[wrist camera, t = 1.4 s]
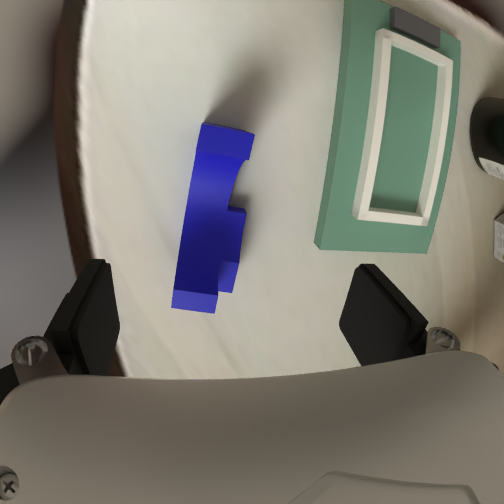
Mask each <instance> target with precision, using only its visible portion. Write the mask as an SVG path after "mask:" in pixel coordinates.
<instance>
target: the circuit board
mask: <svg viewBox="0 0 504 504" xmlns="http://www.w3.org/2000/svg"><path fill="white" fill-rule="evenodd" d="M459 80H460V41H459V40H457V39H456V38H454V37H452V36H451V35H449V34H447V33H446V32H444V31H442V30H440V28H438V27H436V26H434V25H432V24H430V23H428V22H426V21H424V20H423V19H421V18H419V17H416V16H414V15H412V14H410V13H408V12H406V11H404V10H402V9H399V8H397V7H393V6H391V5H389V4H386V3H384V2H381V1H379V0H344V16H343V31H342V44H341V55H340V66H339V76H338V85H337V94H336V103H335V111H334V119H333V127H332V135H331V142H330V149H329V156H328V163H327V169H326V176H325V182H324V188H323V194H322V200H321V206H320V212H319V218H318V223H317V229H316V234H315V239H314V243H315V244H316V246H317V247H318V248H319V249H320V250H342V251H370V252H398V253H424V254H427V251H428V247H429V244H430V241H431V237H432V234H433V230H434V227H435V223H436V219H437V216H438V212H439V208H440V204H441V200H442V195H443V191H444V187H445V182H446V177H447V172H448V167H449V162H450V156H451V150H452V144H453V138H454V131H455V123H456V115H457V105H458V94H459Z"/></svg>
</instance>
